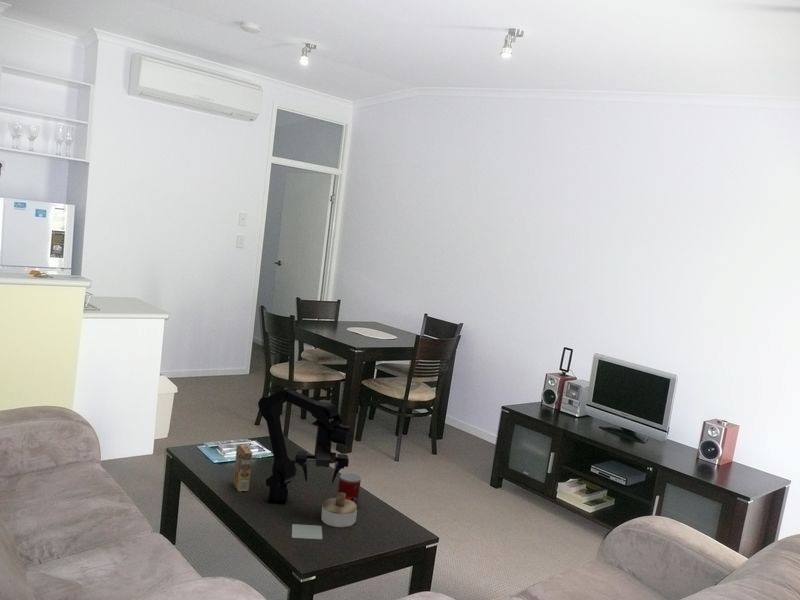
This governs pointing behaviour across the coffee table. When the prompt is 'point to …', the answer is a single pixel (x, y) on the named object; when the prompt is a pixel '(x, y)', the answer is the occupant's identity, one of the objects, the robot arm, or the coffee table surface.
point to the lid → (339, 504)
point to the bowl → (338, 518)
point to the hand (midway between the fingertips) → (319, 482)
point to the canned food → (350, 486)
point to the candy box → (242, 468)
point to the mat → (306, 531)
